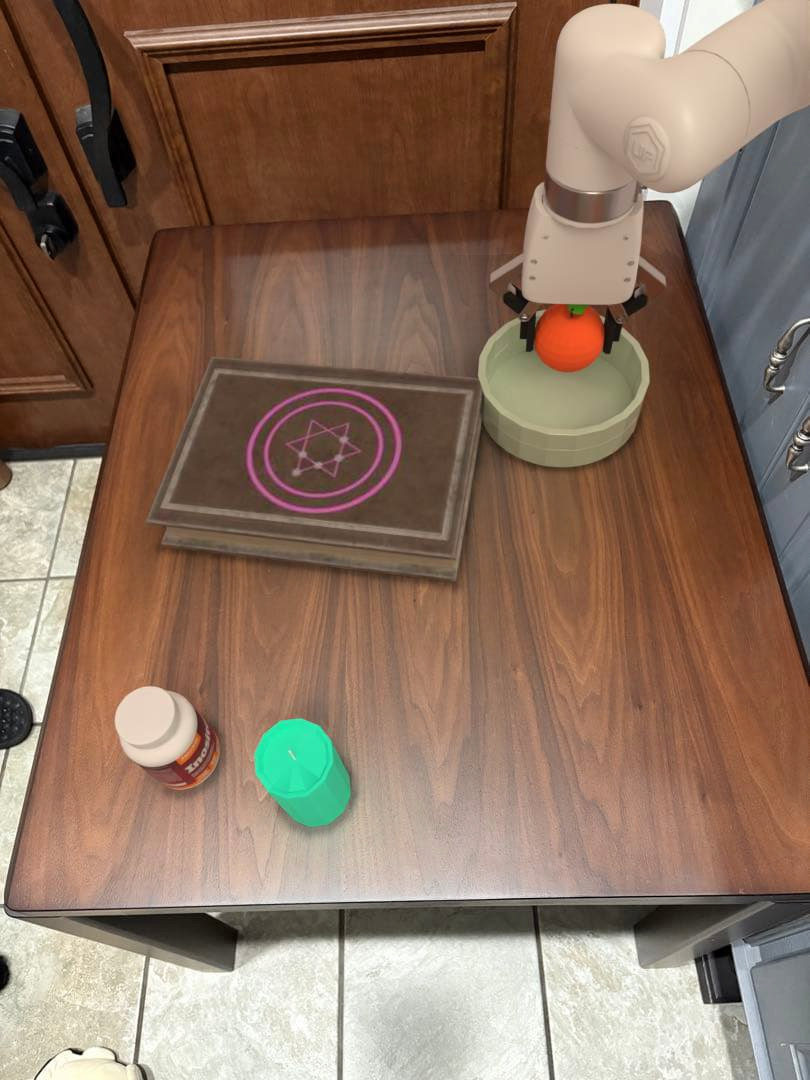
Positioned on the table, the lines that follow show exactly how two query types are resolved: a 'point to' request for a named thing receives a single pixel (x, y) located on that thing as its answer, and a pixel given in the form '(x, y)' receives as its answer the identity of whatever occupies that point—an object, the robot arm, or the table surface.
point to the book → (325, 467)
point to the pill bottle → (167, 737)
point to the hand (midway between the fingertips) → (567, 341)
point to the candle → (303, 772)
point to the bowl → (560, 400)
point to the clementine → (569, 337)
